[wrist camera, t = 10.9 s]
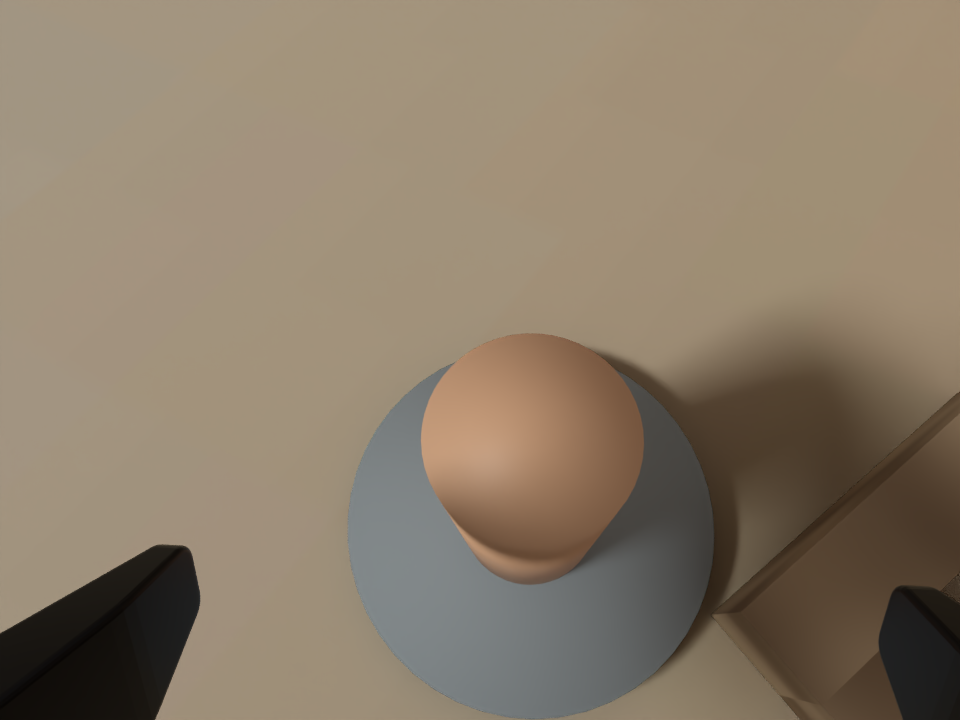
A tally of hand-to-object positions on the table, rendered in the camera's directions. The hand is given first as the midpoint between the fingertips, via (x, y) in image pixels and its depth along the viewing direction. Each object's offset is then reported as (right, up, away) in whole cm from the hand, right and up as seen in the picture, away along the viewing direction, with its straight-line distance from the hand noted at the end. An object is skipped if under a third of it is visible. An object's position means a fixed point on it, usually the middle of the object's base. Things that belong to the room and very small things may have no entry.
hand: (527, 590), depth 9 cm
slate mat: (+1, -2, +13) cm, 13 cm away
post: (+1, -2, +12) cm, 12 cm away
